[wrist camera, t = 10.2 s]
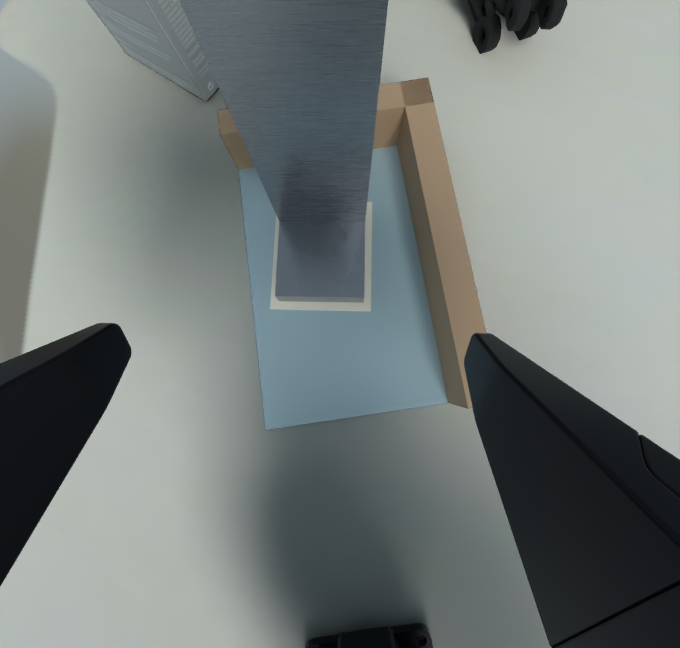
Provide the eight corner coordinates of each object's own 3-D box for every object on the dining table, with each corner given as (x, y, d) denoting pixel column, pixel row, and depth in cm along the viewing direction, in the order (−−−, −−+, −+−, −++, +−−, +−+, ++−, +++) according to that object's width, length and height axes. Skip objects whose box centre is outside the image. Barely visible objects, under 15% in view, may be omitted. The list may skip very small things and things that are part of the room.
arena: (472, 398, 18) (502, 403, 15) (268, 428, 18) (248, 440, 15) (415, 127, 21) (428, 77, 18) (239, 154, 21) (217, 109, 18)
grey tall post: (363, 302, 19) (394, 141, 6) (279, 301, 19) (130, 140, 6) (364, 208, 20) (393, -108, 7) (284, 208, 20) (166, -102, 7)
